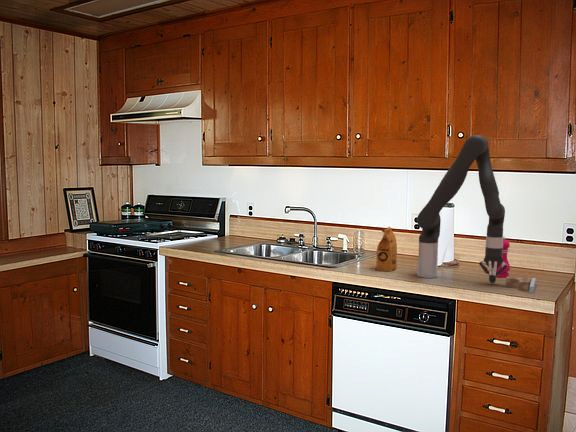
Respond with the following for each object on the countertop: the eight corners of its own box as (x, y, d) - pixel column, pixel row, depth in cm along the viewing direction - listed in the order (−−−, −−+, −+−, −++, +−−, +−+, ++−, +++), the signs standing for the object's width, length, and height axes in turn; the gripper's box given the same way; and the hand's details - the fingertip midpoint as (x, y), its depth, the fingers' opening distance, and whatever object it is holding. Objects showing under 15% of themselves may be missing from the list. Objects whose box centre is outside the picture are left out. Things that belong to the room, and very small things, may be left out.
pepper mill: (505, 274, 280) (507, 235, 278) (512, 277, 273) (513, 237, 270) (491, 274, 280) (493, 235, 277) (497, 278, 273) (499, 237, 270)
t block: (504, 288, 252) (504, 280, 251) (507, 282, 262) (507, 274, 262) (528, 291, 247) (528, 282, 247) (530, 285, 258) (530, 277, 257)
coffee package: (373, 270, 290) (373, 228, 287) (381, 266, 301) (382, 225, 298) (391, 272, 285) (392, 230, 282) (399, 268, 296) (400, 227, 293)
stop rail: (529, 293, 244) (529, 286, 244) (532, 284, 260) (532, 277, 260) (532, 293, 243) (533, 286, 243) (535, 284, 259) (535, 278, 259)
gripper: (477, 246, 257) (476, 282, 259) (508, 248, 251) (506, 286, 253) (480, 243, 264) (478, 279, 266) (510, 246, 258) (508, 282, 260)
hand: (492, 282), depth 260 cm, fingers closed
